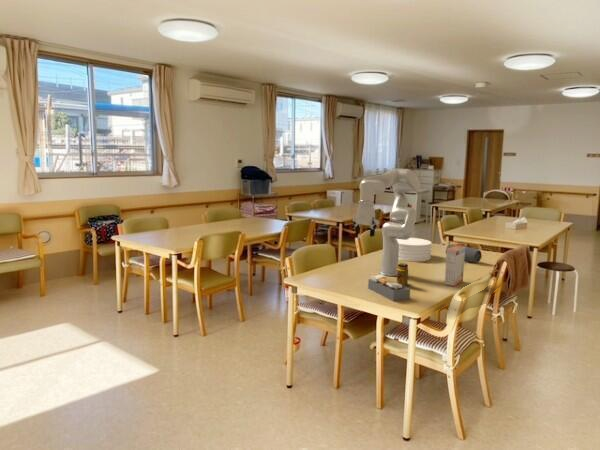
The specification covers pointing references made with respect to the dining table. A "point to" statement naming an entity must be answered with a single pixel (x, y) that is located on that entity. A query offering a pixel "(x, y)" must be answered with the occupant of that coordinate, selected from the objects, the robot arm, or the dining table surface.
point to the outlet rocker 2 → (385, 280)
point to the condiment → (402, 274)
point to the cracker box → (454, 265)
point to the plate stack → (414, 249)
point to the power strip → (389, 291)
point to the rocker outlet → (394, 285)
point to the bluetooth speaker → (470, 254)
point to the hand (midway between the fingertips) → (364, 235)
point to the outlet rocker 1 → (376, 278)
